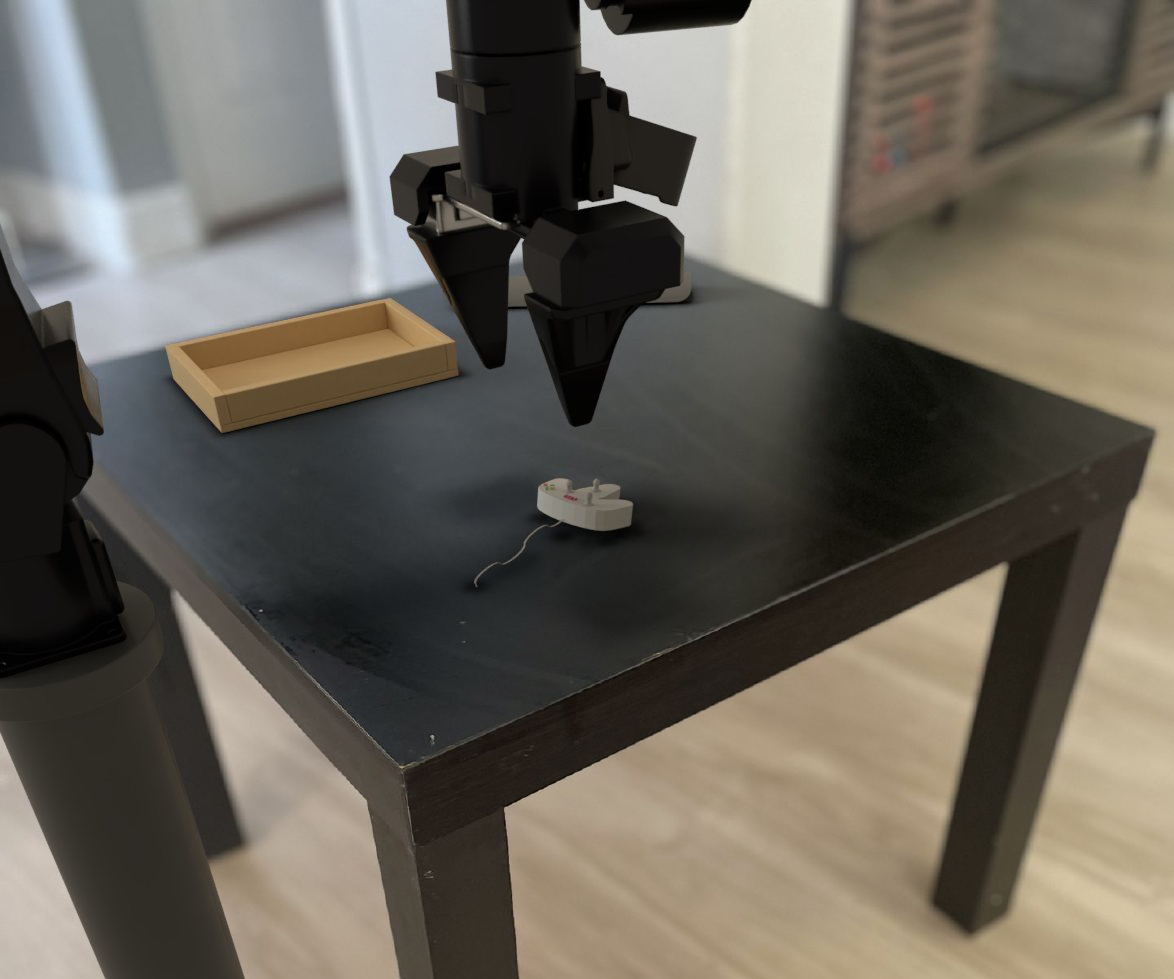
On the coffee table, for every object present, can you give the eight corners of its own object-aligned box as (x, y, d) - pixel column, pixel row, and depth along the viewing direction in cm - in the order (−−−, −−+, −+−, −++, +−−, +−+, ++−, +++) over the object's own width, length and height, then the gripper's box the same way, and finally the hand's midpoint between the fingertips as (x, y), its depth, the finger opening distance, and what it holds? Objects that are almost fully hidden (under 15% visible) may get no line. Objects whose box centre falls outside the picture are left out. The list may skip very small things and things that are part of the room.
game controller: (649, 508, 71) (649, 466, 69) (572, 607, 63) (570, 563, 61) (560, 493, 73) (557, 452, 71) (474, 588, 65) (469, 544, 63)
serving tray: (221, 433, 81) (213, 397, 79) (173, 379, 89) (164, 345, 87) (459, 375, 88) (455, 340, 86) (394, 329, 95) (390, 297, 94)
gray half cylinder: (457, 293, 102) (455, 270, 101) (690, 286, 101) (690, 264, 100) (452, 310, 99) (450, 287, 97) (693, 303, 98) (693, 280, 97)
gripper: (796, 51, 50) (771, 419, 60) (568, 3, 62) (578, 313, 72) (559, 86, 45) (574, 475, 55) (366, 27, 58) (407, 353, 68)
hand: (535, 394), depth 63 cm, fingers open, 9 cm apart
